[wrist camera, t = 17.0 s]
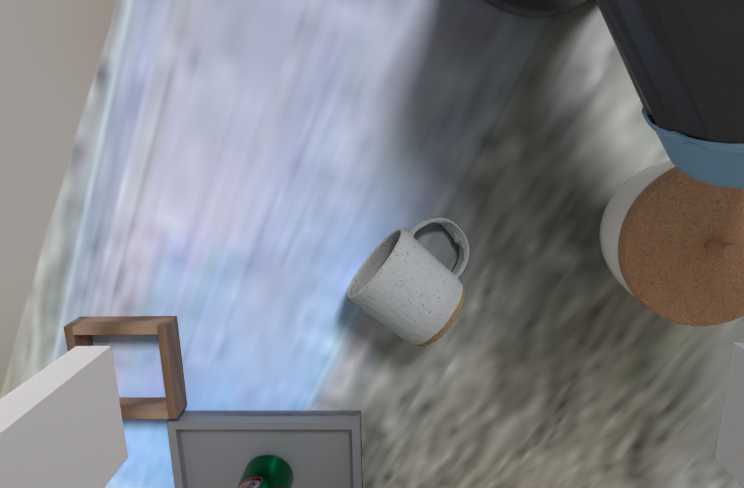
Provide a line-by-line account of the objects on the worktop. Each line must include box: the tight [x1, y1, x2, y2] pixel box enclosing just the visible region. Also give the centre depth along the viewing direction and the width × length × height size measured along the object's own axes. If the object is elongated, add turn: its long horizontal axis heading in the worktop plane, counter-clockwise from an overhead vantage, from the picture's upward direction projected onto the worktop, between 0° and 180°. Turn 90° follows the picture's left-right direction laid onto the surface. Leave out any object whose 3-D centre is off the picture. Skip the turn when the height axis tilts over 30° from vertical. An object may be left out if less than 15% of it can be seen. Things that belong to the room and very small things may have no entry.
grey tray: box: [167, 411, 363, 488], centre depth 50 cm, size 19×13×2 cm
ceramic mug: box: [347, 217, 470, 346], centre depth 42 cm, size 11×8×8 cm
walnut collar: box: [64, 316, 187, 419], centre depth 48 cm, size 10×10×2 cm
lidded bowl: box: [600, 160, 744, 326], centre depth 39 cm, size 13×13×11 cm
